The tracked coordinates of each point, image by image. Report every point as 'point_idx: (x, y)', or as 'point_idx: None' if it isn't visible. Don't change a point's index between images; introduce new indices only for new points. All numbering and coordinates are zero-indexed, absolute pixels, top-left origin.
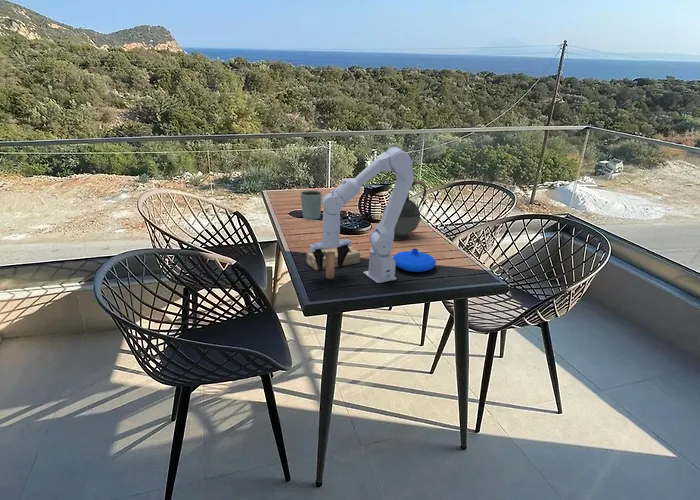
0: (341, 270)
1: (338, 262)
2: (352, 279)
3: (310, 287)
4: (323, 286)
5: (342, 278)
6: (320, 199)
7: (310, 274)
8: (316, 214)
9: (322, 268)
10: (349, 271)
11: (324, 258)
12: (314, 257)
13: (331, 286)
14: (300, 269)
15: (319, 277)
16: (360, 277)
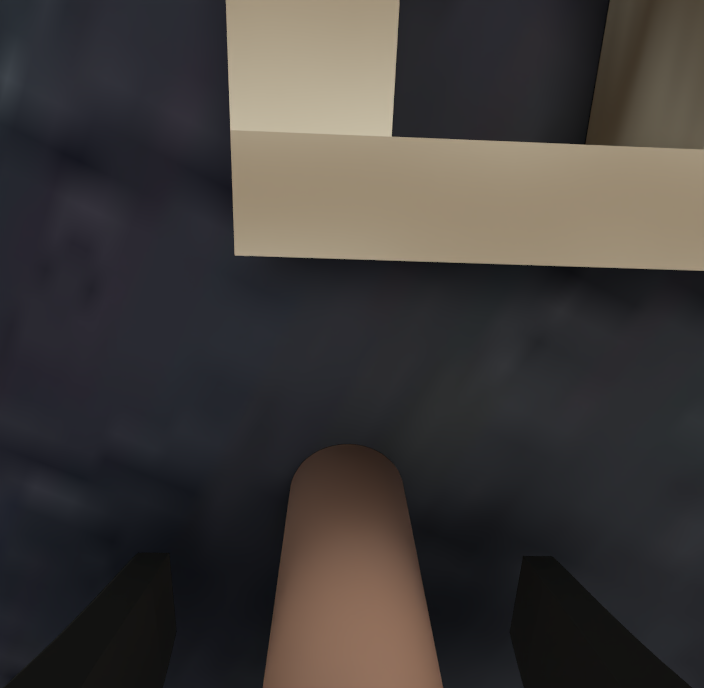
0: (609, 379)
1: (543, 622)
2: None
3: (11, 620)
4: None
5: (465, 575)
6: None
7: (133, 310)
8: None
9: (164, 680)
10: (676, 449)
11: (462, 247)
12: (271, 70)
13: (244, 678)
14: (34, 44)
15: (216, 446)
16: (659, 627)
